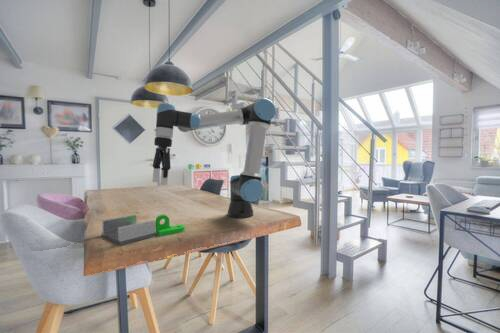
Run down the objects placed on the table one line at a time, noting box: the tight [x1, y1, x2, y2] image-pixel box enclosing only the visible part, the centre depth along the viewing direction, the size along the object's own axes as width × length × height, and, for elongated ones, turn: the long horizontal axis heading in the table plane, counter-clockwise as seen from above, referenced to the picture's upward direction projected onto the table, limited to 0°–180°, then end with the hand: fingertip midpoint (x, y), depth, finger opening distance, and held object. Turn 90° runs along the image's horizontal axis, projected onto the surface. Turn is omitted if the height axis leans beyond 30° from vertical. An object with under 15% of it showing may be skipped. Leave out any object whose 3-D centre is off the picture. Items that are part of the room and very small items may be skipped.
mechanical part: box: [154, 214, 186, 237], centre depth 107 cm, size 12×6×8 cm, turn 128°
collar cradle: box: [100, 213, 156, 246], centre depth 102 cm, size 19×14×6 cm
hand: (159, 183), depth 110 cm, fingers open, 13 cm apart
